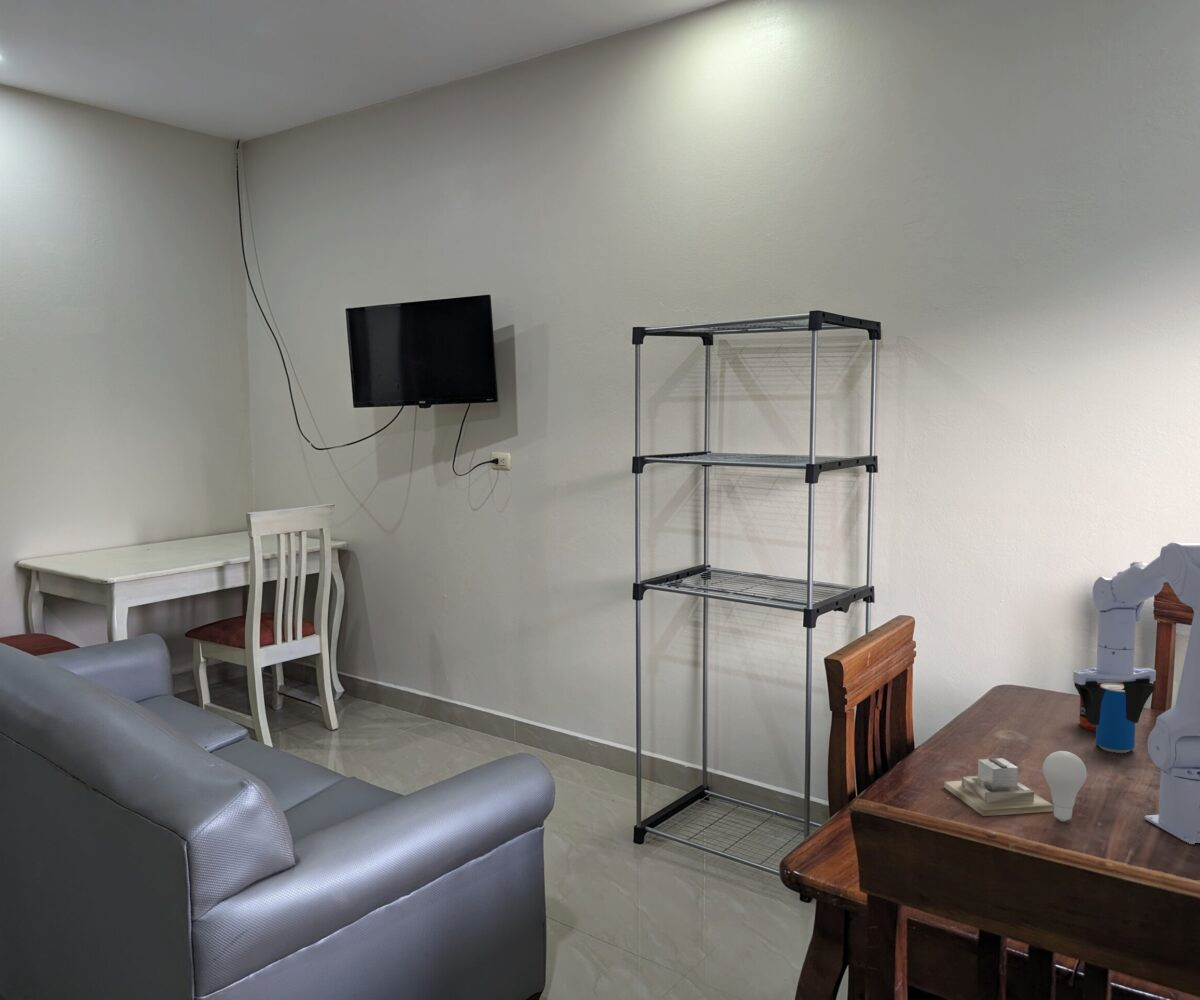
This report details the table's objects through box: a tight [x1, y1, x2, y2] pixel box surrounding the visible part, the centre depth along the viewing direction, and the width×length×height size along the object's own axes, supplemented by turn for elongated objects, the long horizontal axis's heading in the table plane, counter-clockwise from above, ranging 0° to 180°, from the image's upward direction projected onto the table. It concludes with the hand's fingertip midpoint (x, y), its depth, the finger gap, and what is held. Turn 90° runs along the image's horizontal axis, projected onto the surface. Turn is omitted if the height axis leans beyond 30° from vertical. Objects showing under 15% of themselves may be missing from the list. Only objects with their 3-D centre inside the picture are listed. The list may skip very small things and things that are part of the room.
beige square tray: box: [943, 775, 1054, 817], centre depth 156 cm, size 12×12×2 cm
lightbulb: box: [1042, 750, 1087, 822], centre depth 147 cm, size 6×6×11 cm
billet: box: [977, 757, 1019, 792], centre depth 155 cm, size 4×4×5 cm
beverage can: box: [1095, 683, 1136, 754], centre depth 179 cm, size 6×6×12 cm
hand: (1112, 722), depth 166 cm, fingers open, 7 cm apart
